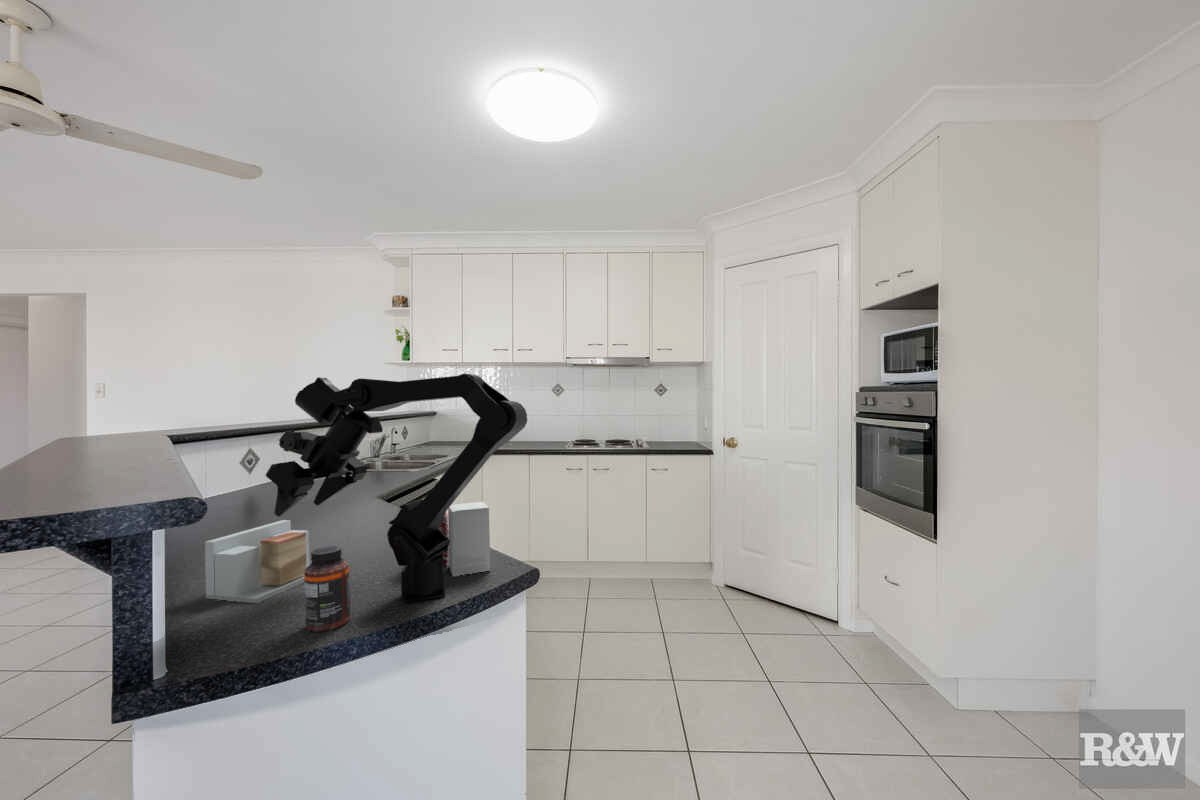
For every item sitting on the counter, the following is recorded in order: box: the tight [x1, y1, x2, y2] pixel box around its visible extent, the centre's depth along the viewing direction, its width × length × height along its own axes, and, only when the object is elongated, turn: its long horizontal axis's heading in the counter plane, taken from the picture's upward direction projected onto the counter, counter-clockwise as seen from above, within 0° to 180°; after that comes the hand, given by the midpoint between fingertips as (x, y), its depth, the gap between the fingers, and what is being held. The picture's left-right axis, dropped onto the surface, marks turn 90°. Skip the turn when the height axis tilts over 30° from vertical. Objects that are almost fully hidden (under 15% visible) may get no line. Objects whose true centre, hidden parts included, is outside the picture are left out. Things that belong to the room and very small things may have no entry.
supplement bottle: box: [303, 545, 351, 633], centre depth 73 cm, size 6×6×11 cm
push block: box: [260, 532, 306, 586], centre depth 90 cm, size 4×6×8 cm, turn 168°
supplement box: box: [447, 501, 491, 577], centre depth 97 cm, size 7×7×13 cm
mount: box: [204, 519, 310, 604], centre depth 91 cm, size 11×16×10 cm
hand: (297, 509), depth 88 cm, fingers open, 9 cm apart
